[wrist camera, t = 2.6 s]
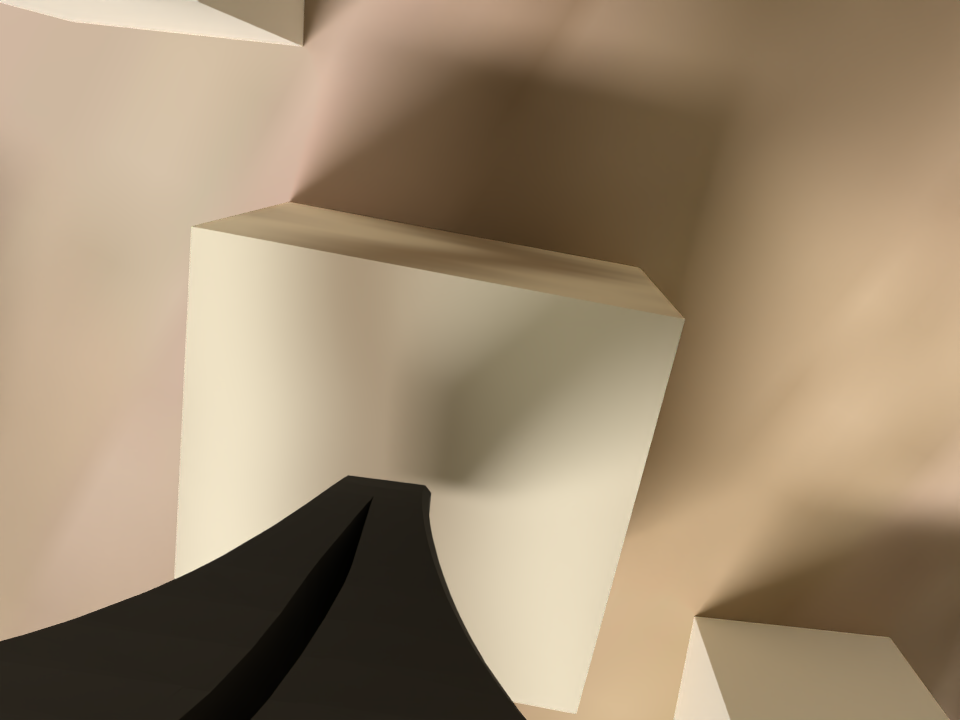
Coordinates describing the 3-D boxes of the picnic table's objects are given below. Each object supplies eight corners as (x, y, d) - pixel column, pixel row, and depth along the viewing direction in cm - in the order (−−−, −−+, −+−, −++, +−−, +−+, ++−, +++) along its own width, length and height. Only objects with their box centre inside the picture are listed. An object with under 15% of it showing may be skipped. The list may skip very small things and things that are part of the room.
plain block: (637, 265, 16) (685, 318, 11) (563, 564, 18) (576, 713, 14) (292, 201, 16) (191, 226, 11) (264, 507, 18) (171, 635, 14)
